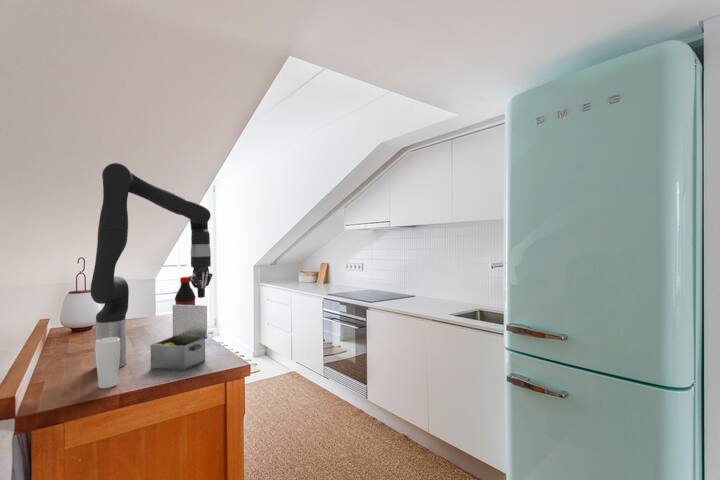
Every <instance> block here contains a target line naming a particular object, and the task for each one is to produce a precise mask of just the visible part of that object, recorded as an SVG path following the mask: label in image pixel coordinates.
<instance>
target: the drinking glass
mask: <svg viewBox="0 0 720 480" xmlns="http://www.w3.org/2000/svg"><path fill="white" fill-rule="evenodd" d="M94 342H95V357H96V365H97V368H96V372H97V379H98V380H97V383H98V384H97V386H98V388H99V389H104V390H105V389H111V388H113V387H116V386H117V385H118V384H119V371H120V367H119V361H120V338H119V337H108V338H102V339H99V340H97V341H96V340H95V341H94Z"/></svg>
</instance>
